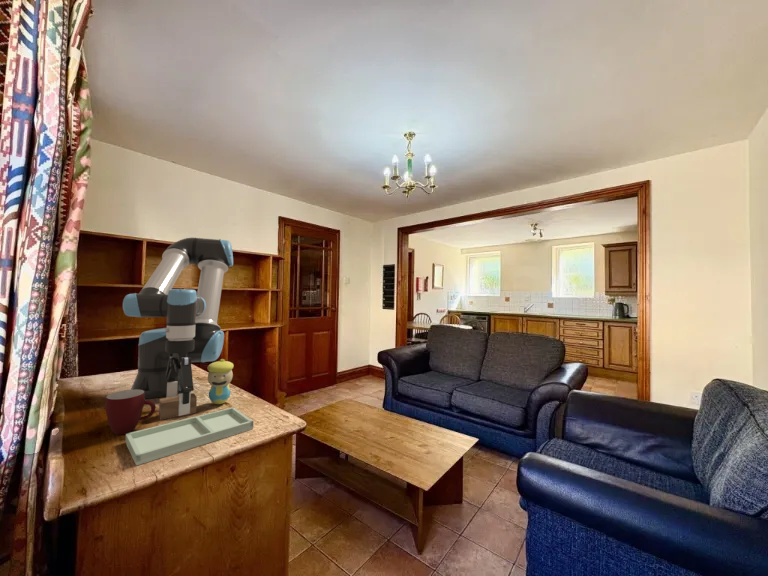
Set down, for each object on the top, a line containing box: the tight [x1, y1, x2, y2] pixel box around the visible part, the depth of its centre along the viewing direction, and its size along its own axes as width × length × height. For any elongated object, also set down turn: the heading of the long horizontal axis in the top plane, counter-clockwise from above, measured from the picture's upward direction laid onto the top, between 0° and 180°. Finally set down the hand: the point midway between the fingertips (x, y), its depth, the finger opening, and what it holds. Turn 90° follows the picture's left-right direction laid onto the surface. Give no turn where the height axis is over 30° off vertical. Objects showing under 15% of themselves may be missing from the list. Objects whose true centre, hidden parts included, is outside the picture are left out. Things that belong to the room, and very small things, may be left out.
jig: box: [125, 406, 254, 467], centre depth 82 cm, size 14×26×2 cm, turn 137°
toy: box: [206, 358, 234, 405], centre depth 104 cm, size 8×9×15 cm
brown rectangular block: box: [158, 392, 198, 421], centre depth 95 cm, size 4×9×5 cm, turn 132°
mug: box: [104, 389, 156, 436], centre depth 84 cm, size 11×8×10 cm
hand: (177, 408), depth 95 cm, fingers open, 13 cm apart
